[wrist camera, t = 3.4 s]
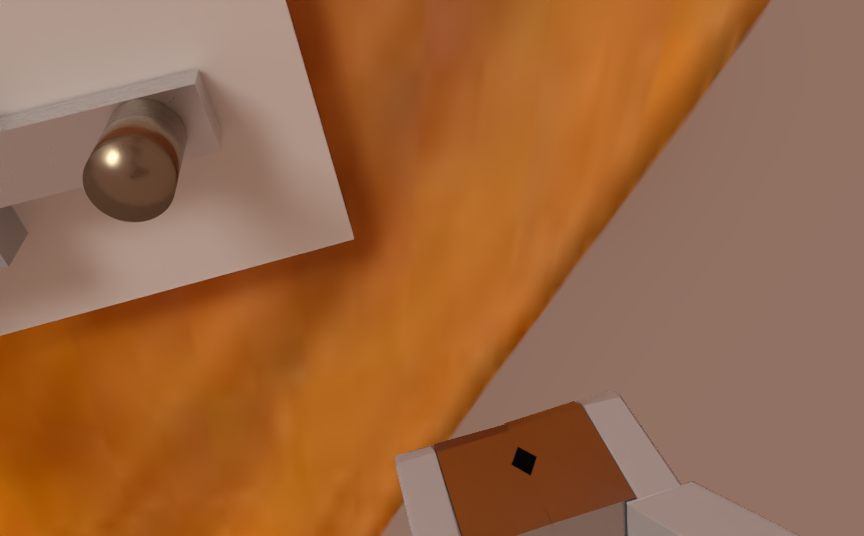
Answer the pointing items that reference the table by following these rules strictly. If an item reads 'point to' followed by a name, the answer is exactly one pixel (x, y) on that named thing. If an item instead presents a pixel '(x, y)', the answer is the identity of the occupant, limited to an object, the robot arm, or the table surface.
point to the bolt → (111, 146)
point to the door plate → (199, 177)
